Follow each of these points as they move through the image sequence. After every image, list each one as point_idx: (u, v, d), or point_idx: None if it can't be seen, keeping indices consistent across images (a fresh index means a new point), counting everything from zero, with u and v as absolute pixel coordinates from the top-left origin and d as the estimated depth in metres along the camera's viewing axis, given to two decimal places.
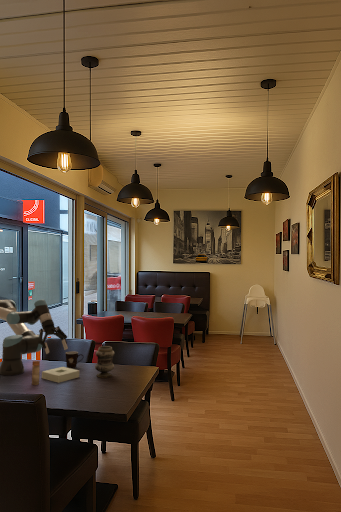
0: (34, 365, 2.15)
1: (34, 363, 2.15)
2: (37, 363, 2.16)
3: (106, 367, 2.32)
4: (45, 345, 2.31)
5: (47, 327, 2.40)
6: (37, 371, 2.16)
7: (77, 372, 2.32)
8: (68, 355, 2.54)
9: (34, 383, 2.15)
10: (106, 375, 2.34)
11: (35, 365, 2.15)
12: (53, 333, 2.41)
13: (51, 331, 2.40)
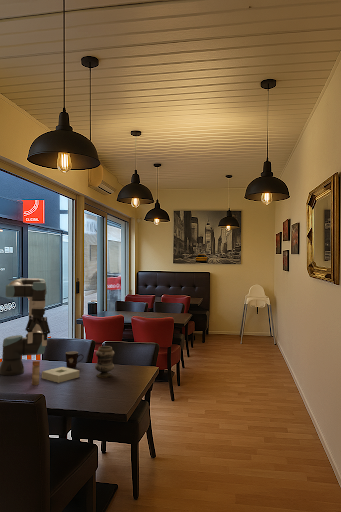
0: (34, 365, 2.15)
1: (34, 363, 2.15)
2: (37, 363, 2.16)
3: (106, 367, 2.32)
4: None
5: (34, 316, 2.19)
6: (37, 371, 2.16)
7: (77, 372, 2.32)
8: (68, 355, 2.54)
9: (34, 383, 2.15)
10: (106, 375, 2.34)
11: (35, 365, 2.15)
12: (38, 324, 2.17)
13: (36, 321, 2.18)
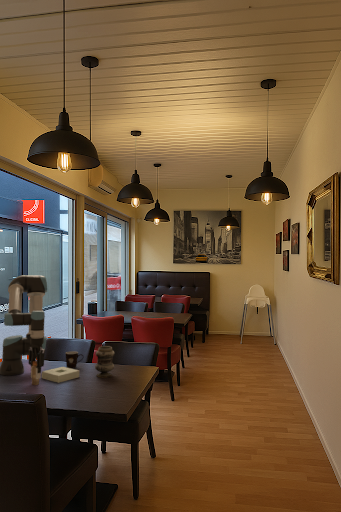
0: (34, 365, 2.15)
1: (34, 363, 2.15)
2: None
3: (106, 367, 2.32)
4: None
5: (33, 345, 2.18)
6: None
7: (77, 372, 2.32)
8: (68, 355, 2.54)
9: (34, 383, 2.15)
10: (106, 375, 2.34)
11: (35, 365, 2.15)
12: None
13: (35, 351, 2.17)
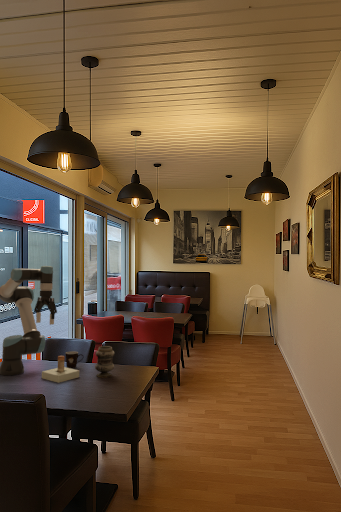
0: (59, 360, 2.30)
1: (59, 358, 2.30)
2: (62, 358, 2.30)
3: (106, 367, 2.32)
4: None
5: (42, 297, 2.38)
6: (62, 365, 2.30)
7: (77, 372, 2.32)
8: (68, 355, 2.54)
9: None
10: (106, 375, 2.34)
11: (60, 360, 2.30)
12: (46, 304, 2.36)
13: (44, 302, 2.36)
